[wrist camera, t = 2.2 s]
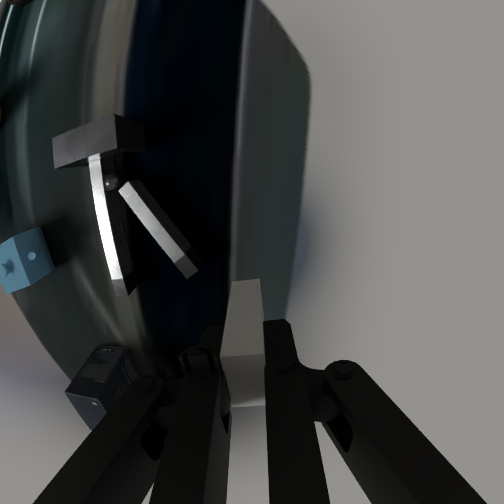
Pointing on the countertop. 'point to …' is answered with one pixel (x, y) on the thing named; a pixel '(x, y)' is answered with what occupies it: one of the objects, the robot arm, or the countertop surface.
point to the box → (101, 382)
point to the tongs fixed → (112, 224)
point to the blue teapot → (24, 260)
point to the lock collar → (98, 141)
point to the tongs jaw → (161, 227)
